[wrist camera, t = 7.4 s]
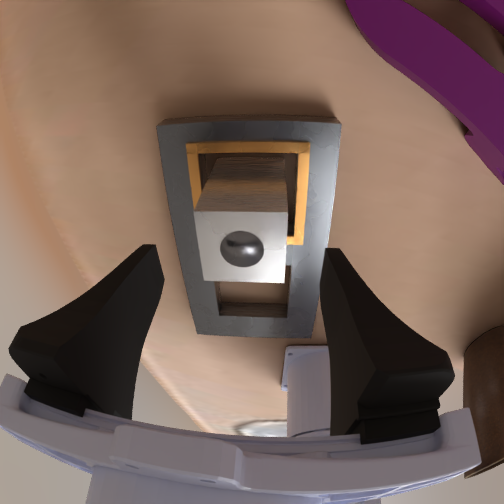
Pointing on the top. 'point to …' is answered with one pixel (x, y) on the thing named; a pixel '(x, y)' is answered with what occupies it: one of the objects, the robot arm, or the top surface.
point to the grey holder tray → (298, 232)
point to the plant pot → (486, 397)
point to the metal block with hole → (243, 221)
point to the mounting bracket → (443, 66)
